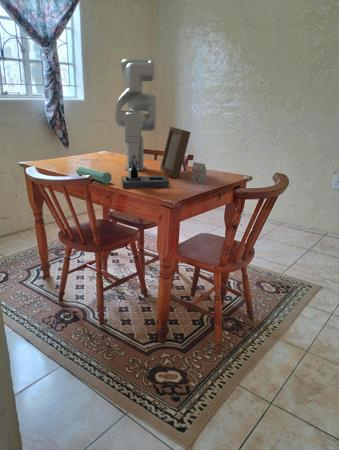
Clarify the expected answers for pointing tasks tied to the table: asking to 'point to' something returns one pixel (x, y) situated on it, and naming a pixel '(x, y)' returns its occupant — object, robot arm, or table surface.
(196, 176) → the grey upright block
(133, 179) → the bushing
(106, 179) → the container
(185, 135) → the photo frame
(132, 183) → the block
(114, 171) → the table surface
